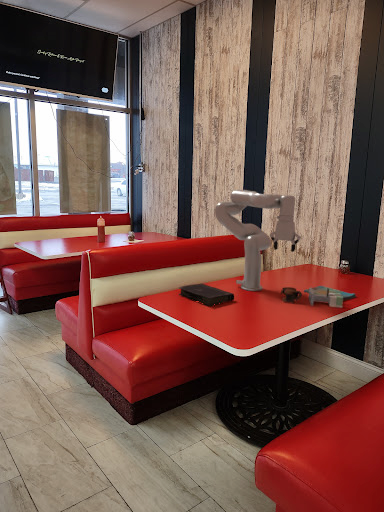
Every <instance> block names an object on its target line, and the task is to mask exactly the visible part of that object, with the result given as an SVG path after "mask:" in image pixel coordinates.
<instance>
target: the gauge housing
mask: <svg viewBox="0 0 384 512" xmlns="http://www.w3.org/2000/svg"><path fill="white" fill-rule="evenodd" d="M329 295H331V296H330V301H329V302H327V303H328V305H329V307H331V308H341V309H342V308H343V306H344V305H343V303H344V301H343V297H342V296H341V294H340V293H329Z"/></svg>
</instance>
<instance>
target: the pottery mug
mask: <svg viewBox="0 0 384 512" xmlns="http://www.w3.org/2000/svg"><path fill="white" fill-rule="evenodd" d="M282 294H283V295H285V296H284V297H282V302H283V303H292V304H294V302H297V301H298V300H300V299H301V298H302V297H303V294H302V291H299V290H297V288H295V287H291V286H290V287H289V286H287V287H282V290H281V291H280V295H282Z"/></svg>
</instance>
